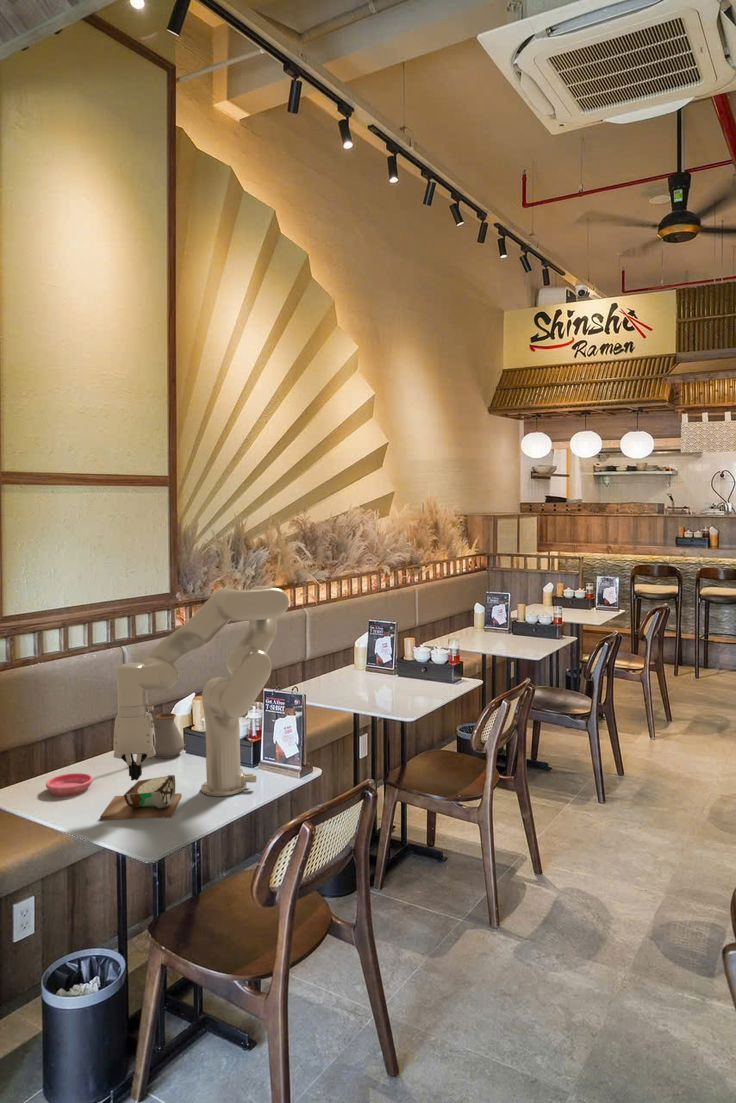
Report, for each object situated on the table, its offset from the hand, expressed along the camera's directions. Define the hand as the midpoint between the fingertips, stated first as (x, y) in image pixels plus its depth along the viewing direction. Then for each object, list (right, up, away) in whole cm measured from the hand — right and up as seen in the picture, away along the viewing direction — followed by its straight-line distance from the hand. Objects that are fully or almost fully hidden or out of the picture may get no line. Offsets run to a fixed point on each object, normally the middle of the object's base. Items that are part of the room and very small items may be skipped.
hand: (135, 778), depth 200 cm
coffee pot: (-7, -6, +42) cm, 43 cm away
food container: (-1, -5, -1) cm, 5 cm away
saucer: (-23, -8, +15) cm, 29 cm away
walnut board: (+2, -8, 0) cm, 8 cm away
